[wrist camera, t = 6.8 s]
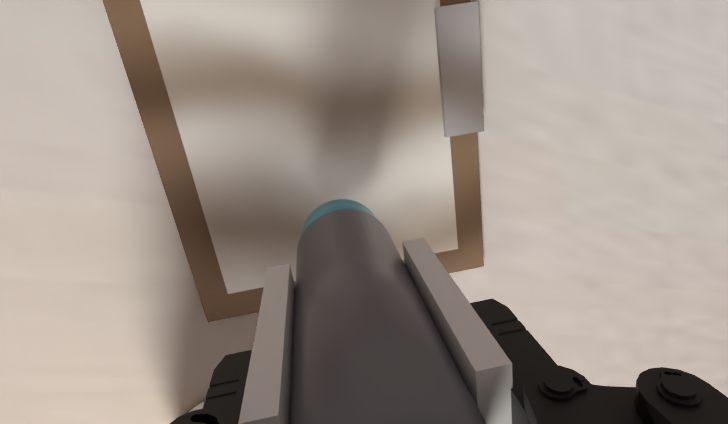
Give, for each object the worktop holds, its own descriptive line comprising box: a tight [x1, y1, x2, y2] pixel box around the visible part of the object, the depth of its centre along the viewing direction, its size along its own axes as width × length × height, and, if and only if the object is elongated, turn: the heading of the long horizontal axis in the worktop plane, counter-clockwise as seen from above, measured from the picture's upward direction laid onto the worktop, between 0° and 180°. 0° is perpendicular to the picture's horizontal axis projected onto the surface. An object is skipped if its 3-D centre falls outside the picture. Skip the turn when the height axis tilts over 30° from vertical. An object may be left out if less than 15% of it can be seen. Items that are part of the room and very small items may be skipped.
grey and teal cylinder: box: [289, 199, 486, 424], centre depth 12 cm, size 4×4×14 cm
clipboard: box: [103, 0, 484, 322], centre depth 20 cm, size 22×16×1 cm
